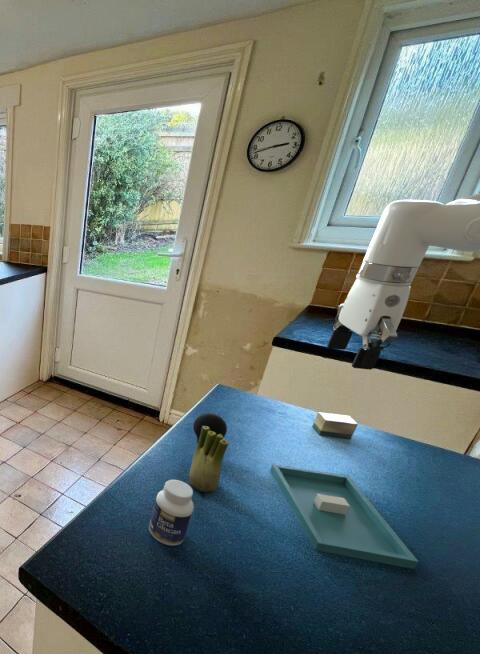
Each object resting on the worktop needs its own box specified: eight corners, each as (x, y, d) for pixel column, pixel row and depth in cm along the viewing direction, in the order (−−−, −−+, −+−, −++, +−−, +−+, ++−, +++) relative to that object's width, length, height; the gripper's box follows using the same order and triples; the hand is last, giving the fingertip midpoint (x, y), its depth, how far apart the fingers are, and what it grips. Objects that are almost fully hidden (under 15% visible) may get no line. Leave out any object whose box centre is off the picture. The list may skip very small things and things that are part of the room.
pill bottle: (149, 542, 67) (161, 495, 62) (147, 517, 71) (158, 473, 67) (186, 550, 65) (201, 503, 61) (181, 525, 70) (195, 480, 66)
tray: (344, 484, 79) (349, 475, 78) (412, 571, 62) (419, 561, 61) (268, 472, 82) (272, 464, 81) (313, 552, 65) (318, 542, 64)
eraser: (342, 430, 95) (349, 415, 93) (350, 439, 91) (358, 424, 90) (311, 426, 96) (318, 411, 94) (319, 435, 93) (325, 420, 91)
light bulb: (181, 446, 89) (192, 407, 85) (210, 448, 89) (222, 408, 84) (192, 464, 84) (204, 422, 80) (222, 465, 84) (236, 424, 79)
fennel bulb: (184, 473, 81) (198, 422, 76) (211, 478, 80) (228, 426, 75) (189, 494, 76) (205, 440, 71) (219, 499, 75) (237, 445, 70)
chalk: (339, 506, 73) (344, 497, 72) (345, 514, 71) (350, 506, 70) (313, 502, 74) (317, 493, 73) (318, 510, 72) (322, 501, 71)
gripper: (446, 286, 67) (397, 379, 75) (382, 264, 82) (347, 343, 90) (390, 283, 69) (348, 374, 77) (337, 262, 84) (307, 340, 92)
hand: (347, 357), depth 83 cm, fingers open, 9 cm apart
